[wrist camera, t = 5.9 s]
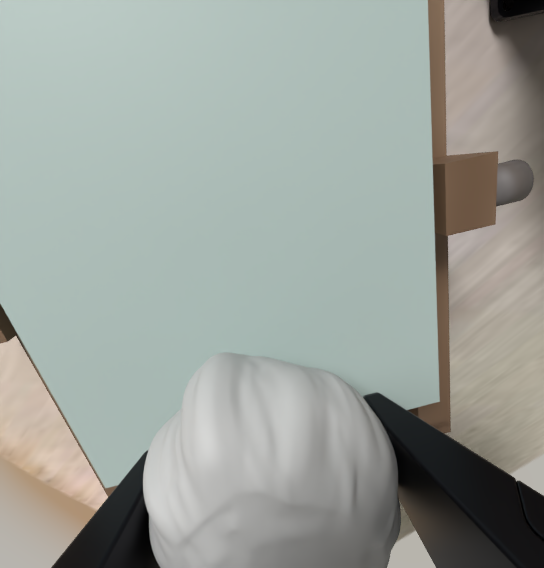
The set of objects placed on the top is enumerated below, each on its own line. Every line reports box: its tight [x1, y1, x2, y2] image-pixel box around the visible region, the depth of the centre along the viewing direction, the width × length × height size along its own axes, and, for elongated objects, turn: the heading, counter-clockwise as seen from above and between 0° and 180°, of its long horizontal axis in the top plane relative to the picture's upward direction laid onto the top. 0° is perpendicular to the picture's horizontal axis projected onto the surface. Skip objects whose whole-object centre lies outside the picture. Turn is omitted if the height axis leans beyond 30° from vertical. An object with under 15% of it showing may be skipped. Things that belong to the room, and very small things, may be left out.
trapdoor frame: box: [0, 0, 534, 497], centre depth 13 cm, size 18×20×8 cm
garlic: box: [143, 352, 401, 568], centre depth 7 cm, size 6×5×5 cm
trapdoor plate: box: [0, 0, 440, 488], centre depth 9 cm, size 12×14×1 cm
